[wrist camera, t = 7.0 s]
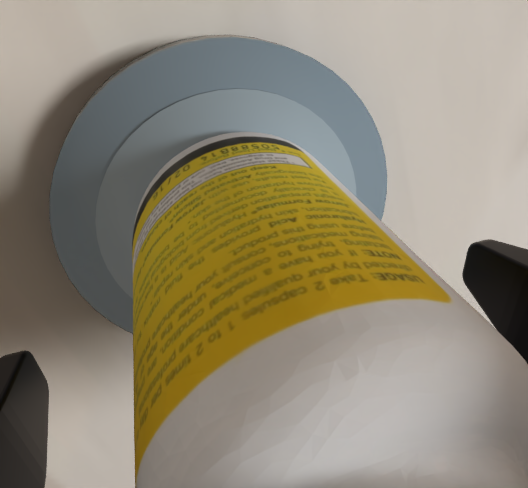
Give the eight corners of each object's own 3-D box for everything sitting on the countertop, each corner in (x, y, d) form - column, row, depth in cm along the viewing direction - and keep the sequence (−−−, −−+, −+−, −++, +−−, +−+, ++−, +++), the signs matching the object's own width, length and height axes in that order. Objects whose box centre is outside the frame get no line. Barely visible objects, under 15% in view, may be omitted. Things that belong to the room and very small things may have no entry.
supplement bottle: (88, 257, 10) (-62, 1211, 2) (220, 77, 9) (1005, 833, 1) (250, 331, 13) (439, 875, 5) (368, 202, 12) (881, 661, 4)
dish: (362, 292, 15) (376, 311, 14) (111, 355, 14) (109, 381, 13) (381, 15, 10) (405, 17, 9) (-8, 59, 9) (-24, 68, 8)
